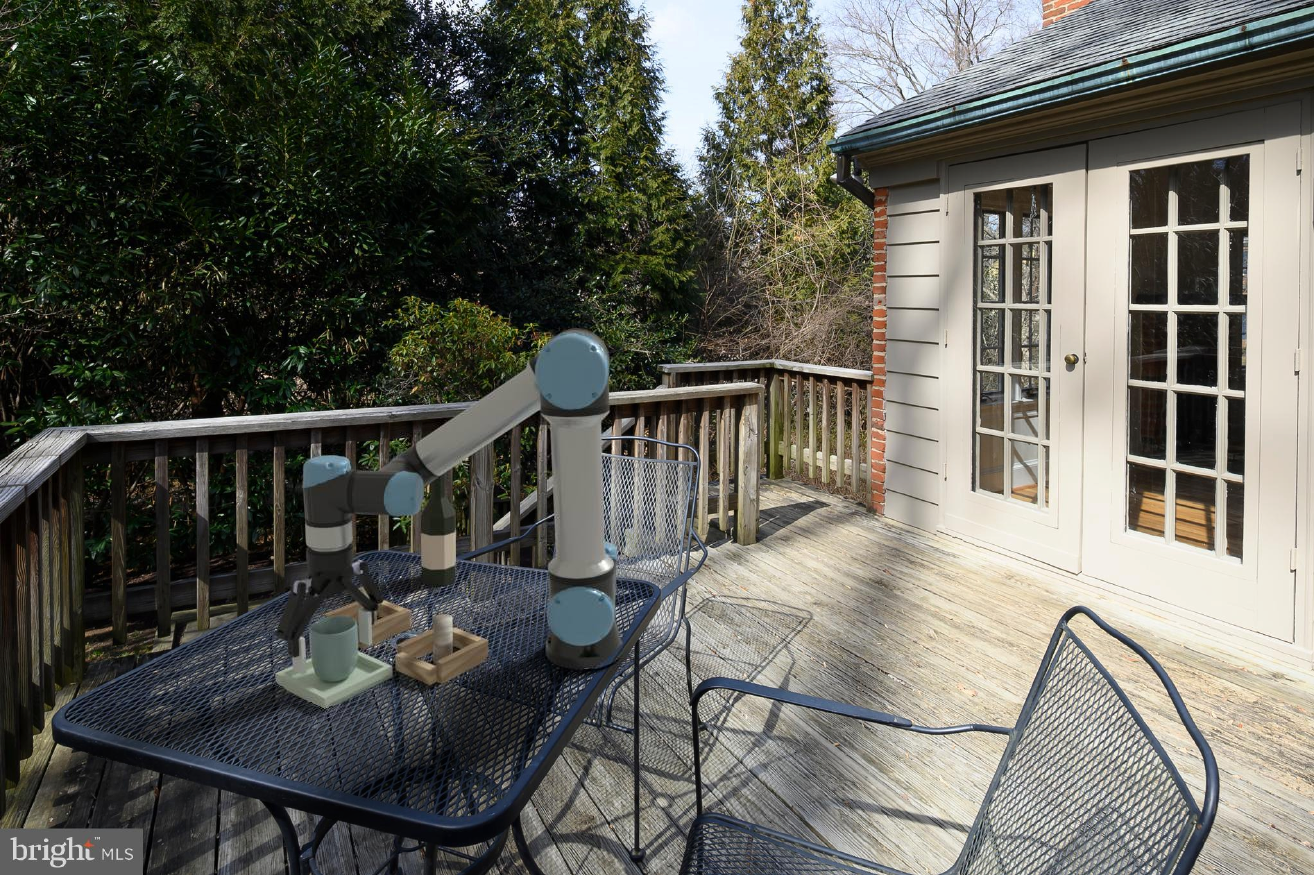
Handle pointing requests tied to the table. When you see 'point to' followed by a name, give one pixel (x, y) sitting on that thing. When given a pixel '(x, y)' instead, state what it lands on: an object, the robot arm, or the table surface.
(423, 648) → the rack
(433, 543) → the wine bottle
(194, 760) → the table surface
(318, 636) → the cup
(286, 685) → the tray
